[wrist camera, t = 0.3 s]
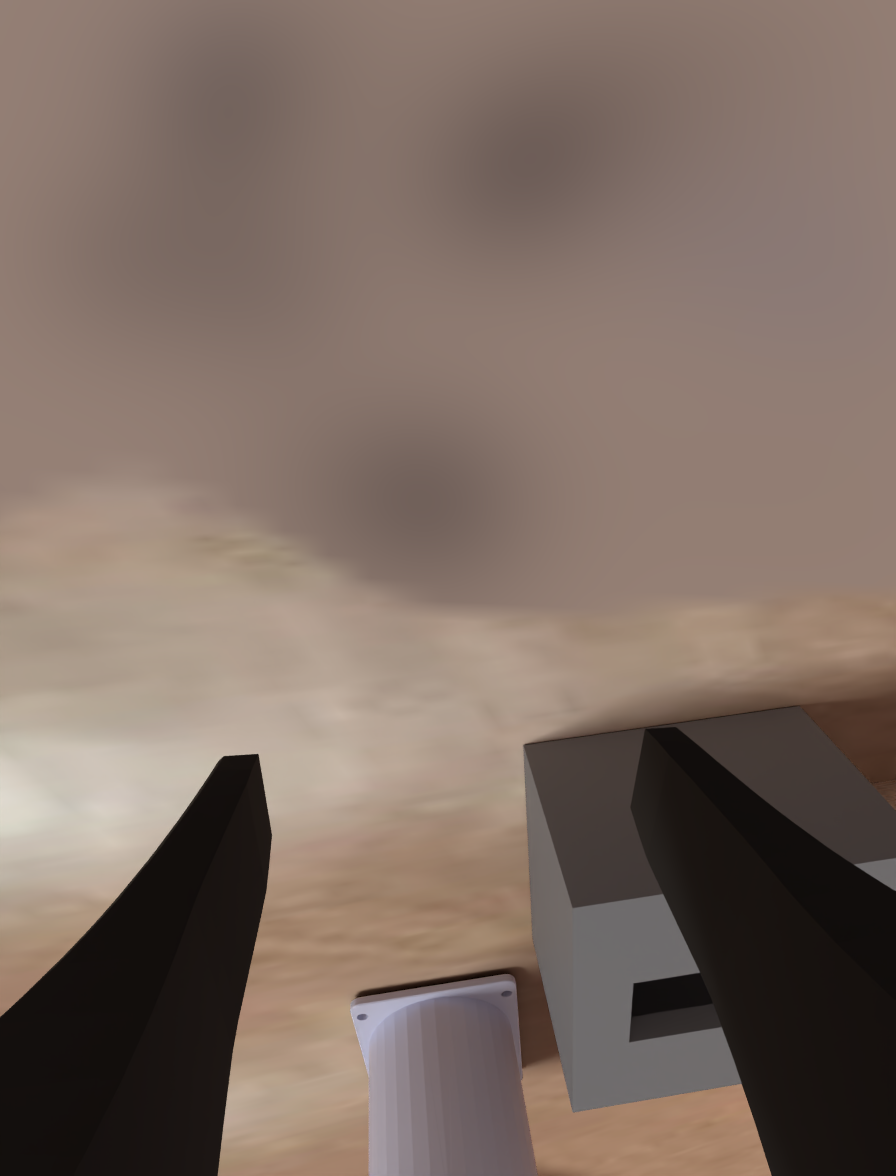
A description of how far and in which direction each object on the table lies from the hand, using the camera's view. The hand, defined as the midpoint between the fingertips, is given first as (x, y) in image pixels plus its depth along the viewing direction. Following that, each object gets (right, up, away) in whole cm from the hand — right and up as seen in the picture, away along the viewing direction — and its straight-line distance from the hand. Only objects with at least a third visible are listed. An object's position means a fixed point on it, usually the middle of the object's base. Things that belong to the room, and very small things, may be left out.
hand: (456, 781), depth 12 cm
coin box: (+9, -7, +16) cm, 20 cm away
